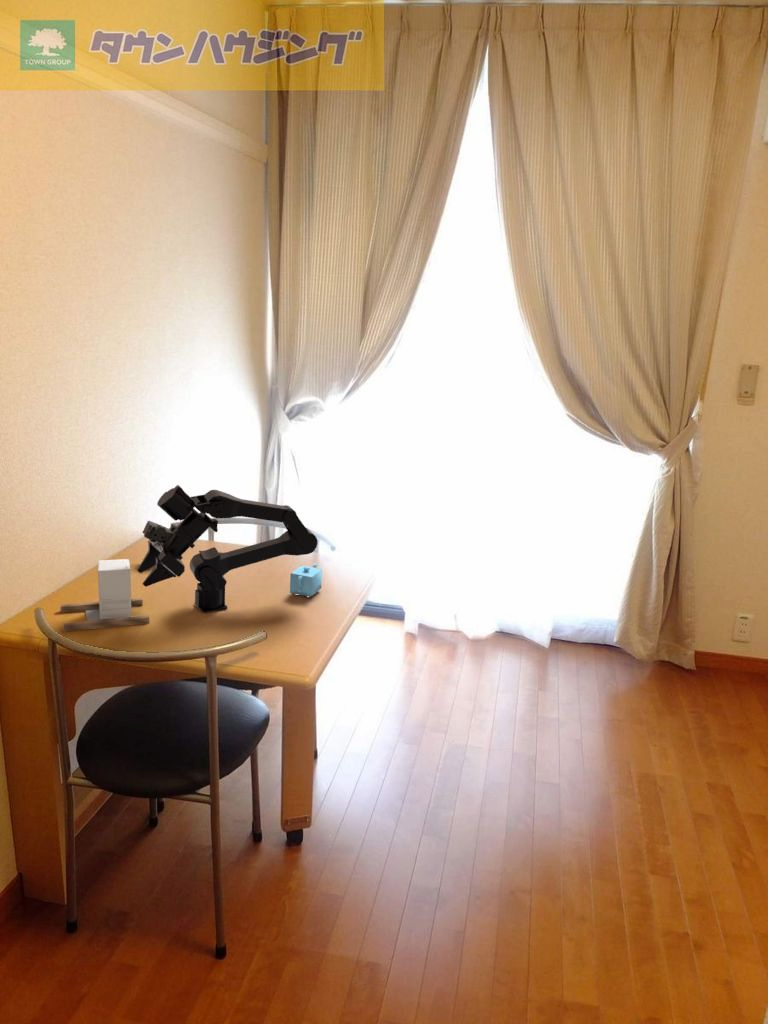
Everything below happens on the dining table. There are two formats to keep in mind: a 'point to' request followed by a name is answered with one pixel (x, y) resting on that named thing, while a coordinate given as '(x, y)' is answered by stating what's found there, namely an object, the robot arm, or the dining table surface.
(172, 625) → the dining table surface
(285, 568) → the dining table surface
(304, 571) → the pale blue boxy block
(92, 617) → the guide rails
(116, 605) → the supplement box
